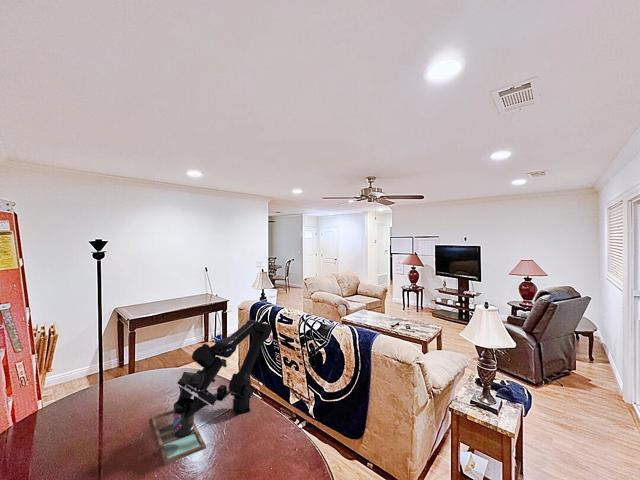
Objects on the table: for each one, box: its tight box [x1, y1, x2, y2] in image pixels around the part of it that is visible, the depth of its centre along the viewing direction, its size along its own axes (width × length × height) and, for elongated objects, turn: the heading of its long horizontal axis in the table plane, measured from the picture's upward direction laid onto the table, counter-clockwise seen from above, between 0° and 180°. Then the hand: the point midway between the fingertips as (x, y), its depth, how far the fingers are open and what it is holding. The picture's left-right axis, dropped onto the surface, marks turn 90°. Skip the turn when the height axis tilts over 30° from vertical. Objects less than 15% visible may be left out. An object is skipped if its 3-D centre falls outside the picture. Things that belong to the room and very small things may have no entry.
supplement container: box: [172, 397, 195, 438], centre depth 101 cm, size 7×7×10 cm
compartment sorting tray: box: [150, 409, 207, 466], centre depth 108 cm, size 31×13×1 cm, turn 38°
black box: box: [214, 384, 231, 402], centre depth 136 cm, size 12×7×5 cm, turn 168°
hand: (179, 414), depth 100 cm, fingers closed on supplement container, 7 cm apart
